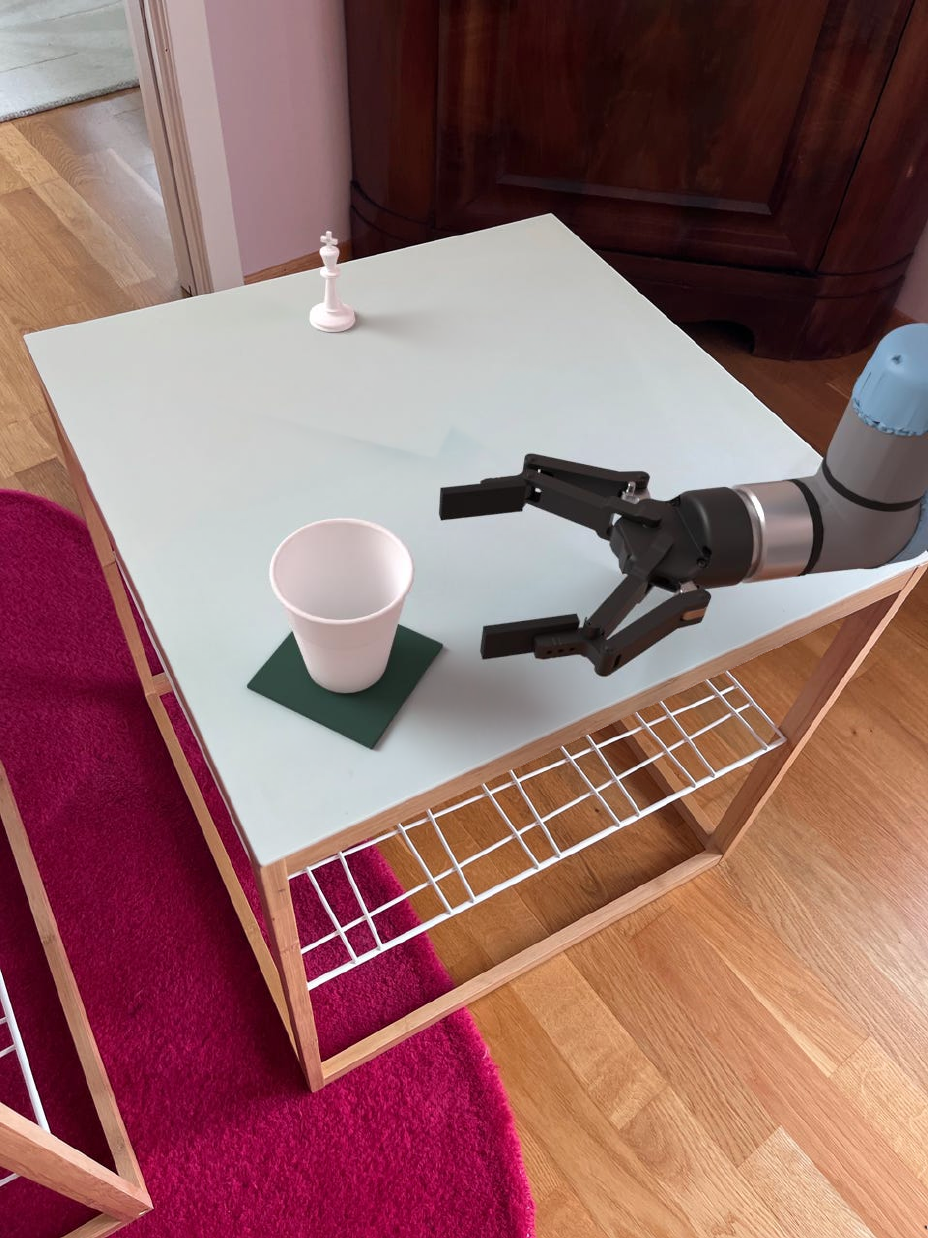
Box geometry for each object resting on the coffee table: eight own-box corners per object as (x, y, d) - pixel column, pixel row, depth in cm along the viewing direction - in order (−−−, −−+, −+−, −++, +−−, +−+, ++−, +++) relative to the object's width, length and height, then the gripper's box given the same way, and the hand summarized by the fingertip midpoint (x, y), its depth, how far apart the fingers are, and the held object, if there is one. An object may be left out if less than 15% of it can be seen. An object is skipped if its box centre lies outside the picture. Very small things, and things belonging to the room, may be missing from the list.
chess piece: (320, 302, 105) (315, 215, 97) (361, 312, 104) (360, 225, 97) (302, 326, 102) (296, 238, 94) (345, 336, 101) (342, 249, 94)
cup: (437, 664, 74) (444, 569, 66) (342, 740, 69) (337, 648, 61) (350, 595, 78) (346, 497, 69) (255, 662, 73) (238, 565, 64)
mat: (442, 646, 76) (443, 643, 75) (371, 749, 69) (371, 747, 69) (325, 593, 78) (325, 590, 78) (246, 688, 72) (246, 685, 72)
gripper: (788, 697, 67) (498, 744, 63) (664, 465, 82) (424, 490, 78) (827, 630, 61) (510, 677, 57) (685, 393, 76) (427, 417, 72)
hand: (459, 569), depth 67 cm, fingers open, 13 cm apart
